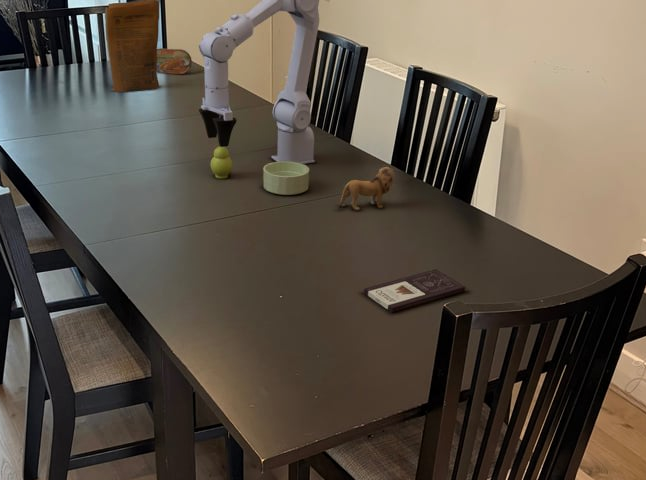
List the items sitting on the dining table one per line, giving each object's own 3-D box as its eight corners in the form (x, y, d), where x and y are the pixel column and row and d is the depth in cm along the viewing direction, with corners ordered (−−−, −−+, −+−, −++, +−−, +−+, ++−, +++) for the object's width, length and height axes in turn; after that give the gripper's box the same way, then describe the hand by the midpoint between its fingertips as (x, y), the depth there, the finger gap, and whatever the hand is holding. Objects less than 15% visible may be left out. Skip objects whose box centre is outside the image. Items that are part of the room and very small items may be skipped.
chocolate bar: (465, 286, 163) (392, 308, 155) (464, 291, 164) (391, 312, 155) (435, 269, 169) (364, 288, 161) (435, 273, 170) (363, 292, 162)
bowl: (295, 177, 215) (296, 159, 212) (316, 192, 206) (317, 173, 204) (255, 183, 210) (255, 164, 207) (275, 199, 202) (275, 179, 199)
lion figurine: (385, 198, 204) (388, 163, 199) (396, 206, 200) (399, 170, 196) (332, 206, 199) (334, 170, 194) (342, 214, 195) (345, 177, 190)
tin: (150, 72, 302) (149, 48, 297) (153, 70, 304) (151, 46, 300) (190, 75, 300) (189, 50, 295) (193, 73, 303) (192, 49, 298)
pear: (227, 171, 217) (226, 137, 212) (236, 178, 213) (235, 143, 208) (207, 174, 215) (206, 139, 210) (215, 181, 210) (215, 146, 205)
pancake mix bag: (167, 89, 283) (162, 0, 267) (113, 94, 275) (104, 3, 260) (161, 84, 288) (155, -3, 272) (107, 89, 280) (98, -1, 265)
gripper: (190, 80, 205) (192, 135, 212) (212, 95, 194) (214, 152, 202) (216, 78, 208) (218, 132, 215) (240, 92, 197) (240, 148, 205)
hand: (218, 141), depth 209 cm, fingers open, 7 cm apart
